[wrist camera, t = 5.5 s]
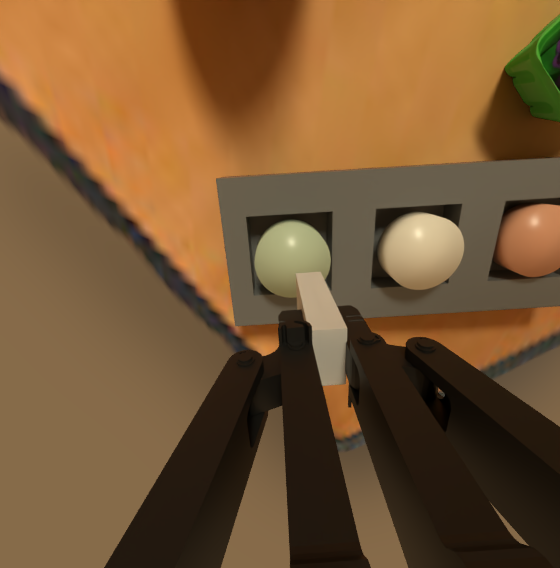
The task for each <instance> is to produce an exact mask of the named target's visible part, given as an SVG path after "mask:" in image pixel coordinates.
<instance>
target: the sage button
mask: <svg viewBox="0 0 560 568" xmlns="http://www.w3.org/2000/svg"><path fill="white" fill-rule="evenodd" d="M330 264H331V257H330V251H329V248H328V246H327V244H326V242H325V241H324V239H323V238H322V236H321V235H320V234H319V232H318V231H317V230H316V229H315V228H314V227H313V226H311V225H310V224H308V223H306V222H304V221H301V220H295V219H288V220H282V221H279V222H277V223H275V224H273V225H271V226H270V227H269V228H267V229H266V230H265V231H264V233H263V234H262V235H261V237H260V239H259V241H258V244H257V248H256V254H255V270H256V274H257V276H258V278H259V280H260V282H261V283H262V284H263V285H264V287H266V288H267V289H268V290H269V291H271V292H272V293H274V294H276V295H279V296H282V297H288V298H296V297H297V293H296V273H308V272H321V274H322V276H323V278H324V280H325V279H326V277H327V275H328V273H329V270H330Z"/></svg>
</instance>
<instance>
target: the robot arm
mask: <svg viewBox="0 0 560 568" xmlns="http://www.w3.org/2000/svg"><path fill="white" fill-rule="evenodd" d="M296 293H297V310H286V311H282V312H281V313H280V314H279V316H278V320H279V327H278V334H279V347H278V349H277V350H276V351H275V352H273V353H271V354H269V355H266V356H263V357H262V355H261V354H260V353H258V352H257V351H253V350H244V351H240V352H237V353H235V354H234V355H232V356H231V357H230V358H229V360H228V361H227V363H226V365H225V367H224V368H223V370H222V371H221V373H220V375H219V376H218V378H217V380H216V381H215V384H214V385H213V387H212V388H211V390H210V392H209V393H208V395H207V396H206V398H205V400H204V402H203V403H202V405H201V407H200V408H199V410H198V412H197V413H196V415H195V417H194V418H193V420H192V422H191V423H190V425H189V427H188V428H187V430H186V432H185V434H184V435H183V437H182V439H181V440H180V442H179V443H178V445H177V447H176V448H175V450H174V452H173V453H172V455H171V457H170V458H169V460H168V462H167V463H166V465H165V467H164V468H163V470H162V472H161V474H160V475H159V477H158V479H157V480H156V482H155V484H154V485H153V487H152V489H151V490H150V492H149V494H148V495H147V497H146V499H145V500H144V502H143V504H142V505H141V507H140V509H139V510H138V512H137V514H136V515H135V517H134V519H133V521H132V522H131V524H130V525H129V527H128V529H127V530H126V532H125V534H124V535H123V537H122V539H121V541H120V542H119V544H118V546H117V547H116V549H115V551H114V552H113V554H112V556H111V557H110V559H109V561H108V562H107V564H106V566H105V567H104V568H221V564H222V561H223V558H224V555H225V552H226V548H227V545H228V542H229V539H230V536H231V532H232V529H233V526H234V523H235V519H236V516H237V513H238V509H239V506H240V503H241V500H242V497H243V494H244V490H245V487H246V484H247V481H248V478H249V474H250V471H251V468H252V465H253V461H254V458H255V455H256V452H257V448H258V445H259V442H260V438H261V435H262V432H263V429H264V426H265V422H266V420H267V416H268V410H270V409H273V408H276V407H279V406H282V407H283V426H284V446H285V464H286V465H285V466H286V486H287V505H288V525H289V543H290V544H289V545H290V568H371V567H370V564H369V562H368V559H367V558H366V557H365V556H364V555H363V553H362V550H361V546H360V542H359V538H358V534H357V530H356V526H355V522H354V517H353V513H352V509H351V505H350V500H349V496H348V492H347V488H346V484H345V479H344V475H343V471H342V467H341V463H340V458H339V454H338V450H337V446H336V442H335V437H334V433H333V429H332V425H331V421H330V416H329V412H328V408H327V404H326V400H325V395H324V391H323V387H322V386H327V385H341V384H346V375H347V378H348V380H349V394H348V407H351V402H352V403H353V406H354V409H355V412H356V415H357V418H358V421H359V424H360V427H361V430H362V433H363V436H364V439H365V441H366V444H367V447H368V450H369V453H370V456H371V459H372V462H373V465H374V468H375V471H376V474H377V477H378V480H379V482H380V485H381V488H382V491H383V494H384V497H385V500H386V503H387V506H388V509H389V512H390V514H391V518H392V521H393V524H394V527H395V529H396V532H397V535H398V538H399V541H400V544H401V547H402V550H403V553H404V556H405V559H406V561H407V564H408V568H560V427H559V426H558V425H556V424H555V423H553V422H552V421H551V420H549V419H548V418H546V417H545V416H543V415H542V414H541V413H539V412H538V411H536V410H535V409H533V408H532V407H531V406H529V405H528V404H526V403H525V402H523V401H522V400H520V399H519V398H517V397H516V396H515V395H513V394H512V393H510V392H509V391H508V390H506V389H505V388H503V387H502V386H500V385H499V384H497V383H496V382H495V381H493V380H492V379H490V378H489V377H488V376H486V375H485V374H483V373H482V372H480V371H479V370H478V369H476V368H475V367H473V366H472V365H470V364H469V363H468V362H466V361H465V360H463V359H462V358H460V357H459V356H458V355H456V354H455V353H453V352H452V351H450V350H449V349H448V348H446V347H445V346H443V345H442V344H440V343H439V342H437V341H435V340H432V339H429V338H426V337H414V338H411V339H409V340H408V341H407V342H406V347H402V346H394V345H389V344H386V342H385V340H384V339H383V338H382V337H381V336H380V335H378V334H376V333H372V332H371V330H370V329H369V327H368V325H367V324H366V322H365V320H364V319H363V317H362V316H361V314H360V312H359V311H358V309H356V308H355V307H353V306H351V305H346V306H337V305H336V303H335V301H334V299H333V297H332V295H331V293H330V291H329V288H328V286H327V284H326V282H325V280H324V278H323V276H322V274H321V272H308V273H296ZM438 388H439V389H440V390H442V391H443V392H444V393H445V396H444V397H443V396H441V395H440V394H439V393H438ZM489 501H490V502H489ZM491 504H492V505H493V506H494V507H495V508H496V509H497V510H498V511H499V513H500V514H501V515H502V516H503V517H504V518H505V519H506V520H507V522H508V523H509V524H510V525H511V526H512V527H513V528H514V529H515V531H516V532H517V533H518V534H519V535H520V536H521V537H522V538H523V540H525V542H526V543H527V544H528V545H529V546H527V545H524V544H520V543H519V542H518V541H516V540H515V539H514V538H513V536H512V535H511V534H510V532H509V531H508V530H507V528H506V527H505V525H504V523H503V522H502V520H501V519H500V518H499V516H498V514H497V513H496V511H495V510H494V508H493V507H492V505H491Z"/></svg>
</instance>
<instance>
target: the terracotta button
mask: <svg viewBox="0 0 560 568" xmlns="http://www.w3.org/2000/svg"><path fill="white" fill-rule="evenodd" d="M492 260H493V261H494V262H495V263H496V264H498V265H500V266H502V267H505V268H507V269H509V270H511V271H514V272H516V273H518V274H521V275H523V276H527V277H539V276H544V275H547V274H550V273H552V272H554V271H556V270H557V269H559V268H560V206H558V205H551V204H543V203H536V202H528V203H523V204H520V205H517V206H515V207H513V208H511V209H509V210H508V211H506V212H505V213H504V214H503V215H502V219H501V223H500V228H499V232H498V236H497V241H496V245H495V249H494V254H493V258H492Z"/></svg>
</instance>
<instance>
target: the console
mask: <svg viewBox="0 0 560 568" xmlns="http://www.w3.org/2000/svg"><path fill="white" fill-rule="evenodd" d="M216 183H217V190H218V198H219V206H220V213H221V221H222V228H223V236H224V244H225V251H226V259H227V266H228V274H229V282H230V289H231V297H232V305H233V312H234V320H235V326H247V325H263V324H279V320H278V316H279V314H280V313H281V312H282V311H286V310H297V297H296V298H288V297H282V296H279V295H276V294H274V293H272V292H271V291H269V290H268V289H267V288H266V287H264V285H263V284H262V283H261V282H260V280H259V278H258V276H257V274H256V270H255V254H256V248H257V244H258V241H259V239H260V237H261V235H262V234H263V233H264V231H265V230H266V229H267V228H269V227H270V226H271V225H273V224H275V223H277V222H279V221H282V220H288V219H295V220H301V221H304V222H306V223H308V224H310V225H311V226H313V227H314V228H315V229H316V230H317V231H318V232H319V234H320V235H321V236H322V238H323V239H324V241H325V242H326V244H327V246H328V248H329V251H330V257H331V264H330V270H329V273H328V275H327V277H326V279H325V282H326V284H327V286H328V288H329V291H330V293H331V295H332V297H333V299H334V301H335V303H336V305H337V306H346V305H351V306H353V307H355V308H356V309H358V311H359V312H360V314H361V316H362V317H363V318H376V317H392V316H408V315H424V314H441V313H457V312H473V311H489V310H505V309H521V308H537V307H553V306H560V268H559V269H557V270H556V271H554V272H552V273H550V274H547V275H544V276H539V277H527V276H523V275H521V274H518V273H516V272H514V271H511V270H509V269H507V268H505V267H502V266H500V265H498V264H496V263H495V262H494V261H493V260H492V258H493V254H494V249H495V245H496V241H497V236H498V232H499V228H500V223H501V219H502V215H503V214H504V213H505V212H506V211H508V210H509V209H511V208H513V207H515V206H517V205H520V204H523V203H528V202H536V203H543V204H551V205H558V206H560V157H545V158H528V159H512V160H495V161H479V162H462V163H446V164H429V165H413V166H396V167H380V168H363V169H347V170H330V171H314V172H297V173H281V174H264V175H248V176H231V177H221V178H217V179H216ZM410 212H426V213H429V214H432V215H436V216H439V217H442V218H446V219H448V220H450V221H451V222H453V223H454V224H455V225H456V226H457V227H458V228H459V229H460V231H461V233H462V236H463V239H464V253H463V257H462V260H461V262H460V264H459V266H458V268H457V269H456V270H455V272H454V273H453V274H452V275H451V276H450V277H449V278H448V279H447V280H445V281H444V282H442V283H441V284H439V285H437V286H435V287H432V288H429V289H424V290H413V289H409V288H406V287H403V286H402V285H400V284H399V283H397V282H396V281H395V280H394V279H393V278H392V277H391V276H390V275H389V274H388V273H386V272H385V271H384V269H383V268H382V267H381V265H380V263H379V261H378V257H377V246H378V241H379V238H380V236H381V234H382V232H383V231H384V229H385V228H386V227H387V226H388V225H389V224H390V223H391V222H392V221H393V220H394V219H396V218H397V217H399V216H401V215H403V214H406V213H410Z"/></svg>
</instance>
